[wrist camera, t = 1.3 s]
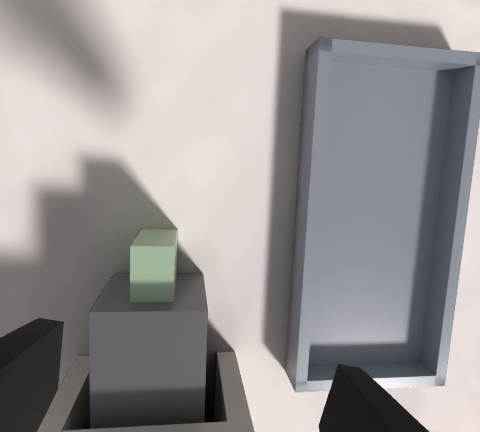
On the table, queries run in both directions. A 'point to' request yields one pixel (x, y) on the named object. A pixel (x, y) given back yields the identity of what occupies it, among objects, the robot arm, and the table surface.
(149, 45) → the table surface
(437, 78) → the tray
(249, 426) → the sleeve
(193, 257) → the table surface
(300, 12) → the table surface
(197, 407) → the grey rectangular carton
